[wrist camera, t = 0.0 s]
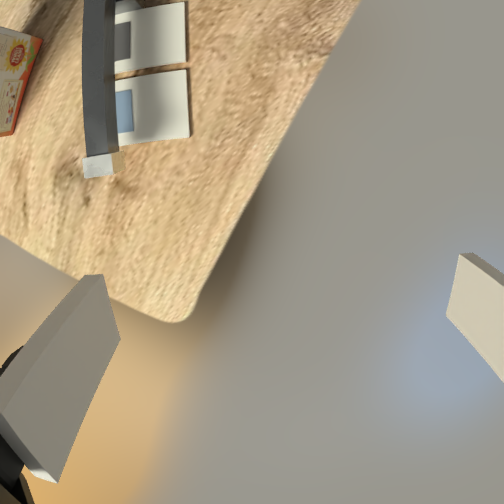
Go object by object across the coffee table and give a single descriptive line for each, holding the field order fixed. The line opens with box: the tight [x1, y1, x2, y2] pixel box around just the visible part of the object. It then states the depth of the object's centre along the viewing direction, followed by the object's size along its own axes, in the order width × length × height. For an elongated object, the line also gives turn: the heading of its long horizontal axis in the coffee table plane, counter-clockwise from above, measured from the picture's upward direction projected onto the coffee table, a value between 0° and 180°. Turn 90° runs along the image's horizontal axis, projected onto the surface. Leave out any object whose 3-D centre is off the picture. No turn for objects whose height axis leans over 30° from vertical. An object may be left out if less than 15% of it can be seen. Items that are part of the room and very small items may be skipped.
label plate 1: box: [115, 2, 186, 74], centre depth 30 cm, size 8×12×1 cm, turn 93°
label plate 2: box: [115, 70, 190, 146], centre depth 33 cm, size 8×12×1 cm, turn 92°
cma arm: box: [82, 0, 126, 178], centre depth 25 cm, size 25×4×4 cm, turn 3°
